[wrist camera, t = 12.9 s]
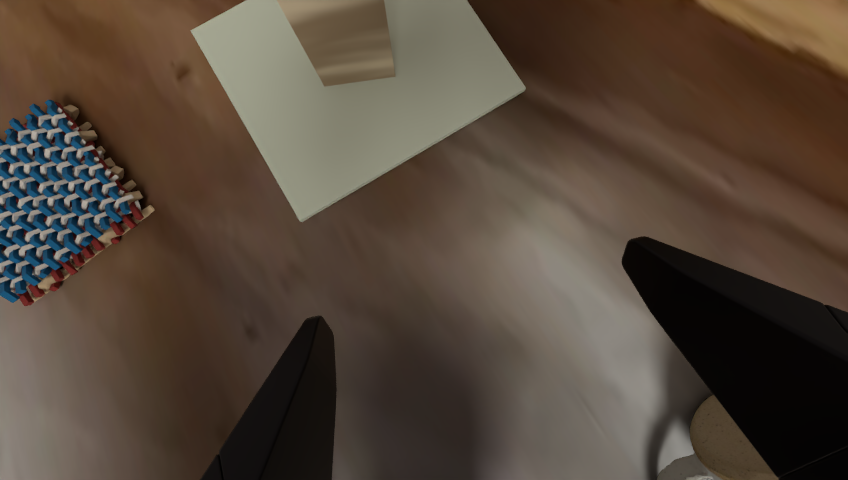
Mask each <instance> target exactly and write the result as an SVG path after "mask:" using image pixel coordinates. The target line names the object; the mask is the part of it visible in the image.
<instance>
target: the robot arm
mask: <svg viewBox="0 0 848 480" xmlns="http://www.w3.org/2000/svg"><path fill="white" fill-rule="evenodd" d="M622 265H623V268H624V270H625V271H626V273H627V274H628V276H629V278H630V279H631V281H632V283H633V284H634V286H635V288H636V289H637V291H638V292H639V294H640V296H641V297H642V299H643V301H644V302H645V304H646V306H647V307H648V309H649V310H650V312H651V313H652V314H653V316H654V317H655V319H656V320H657V321H658V323H659V324H660V325H661V327H662V328H663V329H664V330H665V332H666V333H667V334H668V336H669V337H670V338H671V340H672V341H673V342H674V344H675V345H676V346H677V347H678V349H679V350H680V351H681V353H682V354H683V355H684V357H685V358H686V359H687V361H688V362H689V363H690V364H691V366H692V367H693V368H694V370H695V371H696V372H697V374H698V375H699V376H700V378H701V379H702V380H703V381H704V383H705V384H706V385H707V387H708V388H709V389H710V391H711V392H712V393H713V395H714V396H715V397H716V398H717V400H718V401H719V402H720V404H721V405H722V406H723V408H724V409H725V410H726V412H727V413H728V414H729V416H730V417H731V418H732V419H733V421H734V422H735V423H736V425H737V426H738V427H739V429H740V430H741V431H742V433H743V434H744V435H745V436H746V438H747V439H748V440H749V442H750V443H751V444H752V446H753V447H754V448H755V450H756V451H757V452H758V453H759V455H760V456H761V457H762V459H763V460H764V461H765V463H766V464H767V465H768V467H769V468H770V469H771V470H772V472H773V473H774V474H775V476H776V477H778V480H848V312H845V311H843V310H840V309H837V308H835V307H832V306H829V305H824V304H823V303H821V302H818V301H816V300H813V299H811V298H808V297H805V296H803V295H800V294H797V293H795V292H792V291H789V290H787V289H784V288H781V287H779V286H776V285H773V284H771V283H768V282H765V281H763V280H760V279H758V278H755V277H752V276H750V275H747V274H744V273H742V272H739V271H736V270H734V269H731V268H728V267H726V266H723V265H720V264H718V263H715V262H712V261H710V260H707V259H705V258H702V257H699V256H697V255H694V254H691V253H689V252H686V251H683V250H681V249H678V248H675V247H673V246H670V245H667V244H665V243H662V242H659V241H657V240H654V239H652V238H649V237H645V236H643V237H638V238H634V239H631V240H629V241H628V242H627V245H626V248H625V251H624V254H623V257H622ZM336 390H337V389H336V367H335V349H334V336H333V332H332V330H331V329H330V327H329V326H328V324H327V323H326V321H325V320H324V318H323V317H322V316H315V317H311V318H307V319H306V320H305V321H304V323H303V324H302V326H301V327H300V329H299V330H298V332H297V333H296V335H295V336H294V338H293V339H292V341H291V342H290V344H289V345H288V347H287V348H286V350H285V351H284V353H283V355H282V356H281V358H280V359H279V361H278V362H277V364H276V365H275V367H274V368H273V370H272V371H271V373H270V374H269V376H268V377H267V379H266V380H265V382H264V383H263V385H262V387H261V388H260V390H259V391H258V393H257V394H256V396H255V397H254V399H253V400H252V402H251V403H250V405H249V406H248V408H247V409H246V411H245V412H244V414H243V415H242V417H241V419H240V420H239V422H238V423H237V425H236V426H235V428H234V429H233V431H232V432H231V434H230V435H229V437H228V438H227V440H226V441H225V443H224V444H223V446H222V447H221V449H220V451H219V454H218V455H216V456H215V458H214V459H213V461H212V462H211V464H210V466H209V467H208V469H207V470H206V472H205V473H204V475H203V476H202V478H201V479H200V480H332V463H333V446H334V429H335V412H336Z"/></svg>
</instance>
